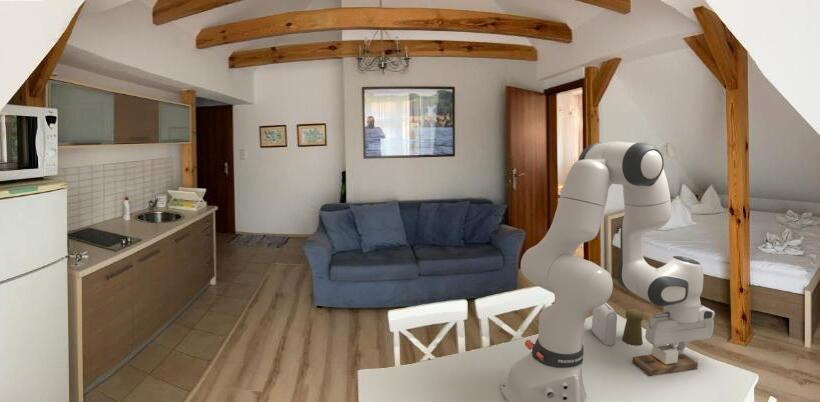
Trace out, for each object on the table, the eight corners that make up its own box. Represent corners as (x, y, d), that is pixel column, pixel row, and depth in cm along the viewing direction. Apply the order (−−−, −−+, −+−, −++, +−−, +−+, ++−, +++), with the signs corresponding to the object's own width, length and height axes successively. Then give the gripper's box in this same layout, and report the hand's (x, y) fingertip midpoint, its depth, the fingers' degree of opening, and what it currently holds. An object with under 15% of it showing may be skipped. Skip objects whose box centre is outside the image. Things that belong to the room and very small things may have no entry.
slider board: (649, 376, 116) (650, 369, 115) (632, 362, 123) (632, 356, 122) (697, 369, 119) (698, 362, 118) (677, 356, 126) (678, 350, 125)
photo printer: (589, 330, 142) (591, 297, 140) (601, 330, 142) (604, 297, 140) (604, 346, 132) (606, 311, 130) (617, 345, 132) (619, 310, 130)
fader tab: (665, 364, 117) (666, 352, 117) (652, 355, 122) (653, 343, 122) (677, 362, 118) (678, 351, 118) (663, 353, 123) (664, 342, 122)
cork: (645, 346, 131) (648, 315, 129) (625, 345, 133) (627, 313, 131) (638, 337, 137) (641, 307, 135) (619, 335, 138) (621, 305, 136)
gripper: (658, 319, 113) (654, 364, 116) (720, 311, 117) (714, 355, 119) (642, 309, 119) (638, 352, 122) (700, 302, 123) (696, 344, 126)
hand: (676, 354), depth 121 cm, fingers closed
